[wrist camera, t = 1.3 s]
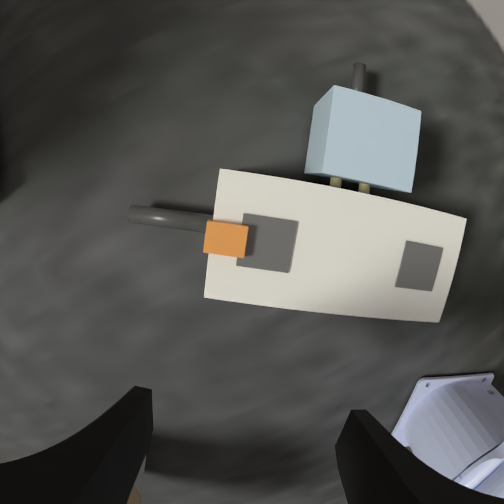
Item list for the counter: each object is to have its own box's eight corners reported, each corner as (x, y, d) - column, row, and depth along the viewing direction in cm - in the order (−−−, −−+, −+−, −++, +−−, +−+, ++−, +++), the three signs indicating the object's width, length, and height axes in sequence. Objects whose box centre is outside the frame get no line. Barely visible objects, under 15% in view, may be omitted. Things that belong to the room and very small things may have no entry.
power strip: (408, 296, 20) (442, 326, 15) (134, 259, 19) (103, 283, 14) (429, 209, 18) (471, 220, 14) (143, 161, 18) (111, 158, 13)
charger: (368, 227, 18) (401, 243, 14) (297, 214, 18) (312, 228, 14) (388, 79, 16) (423, 57, 12) (319, 60, 16) (339, 29, 11)
